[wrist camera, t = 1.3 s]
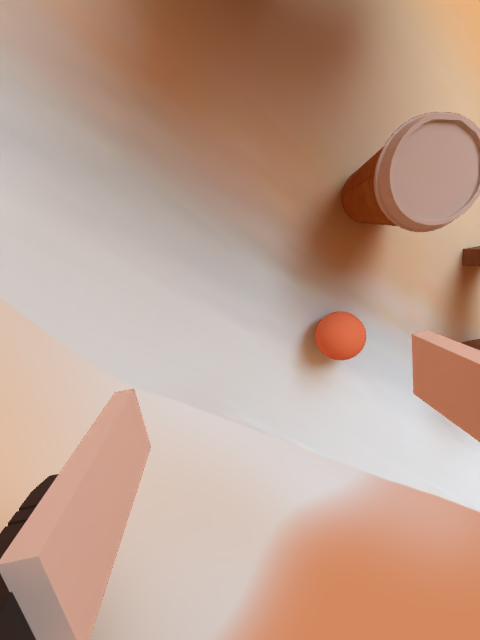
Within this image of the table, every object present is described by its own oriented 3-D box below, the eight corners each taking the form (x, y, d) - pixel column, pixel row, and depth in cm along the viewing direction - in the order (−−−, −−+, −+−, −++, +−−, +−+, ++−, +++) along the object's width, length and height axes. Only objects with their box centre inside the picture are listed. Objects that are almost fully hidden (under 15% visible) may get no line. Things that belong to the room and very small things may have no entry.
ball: (306, 311, 39) (322, 323, 33) (350, 303, 39) (374, 313, 33) (311, 354, 40) (327, 372, 34) (353, 346, 41) (377, 362, 35)
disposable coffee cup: (419, 181, 36) (516, 149, 24) (374, 250, 38) (446, 251, 26) (358, 135, 34) (431, 77, 23) (313, 210, 36) (361, 192, 24)
